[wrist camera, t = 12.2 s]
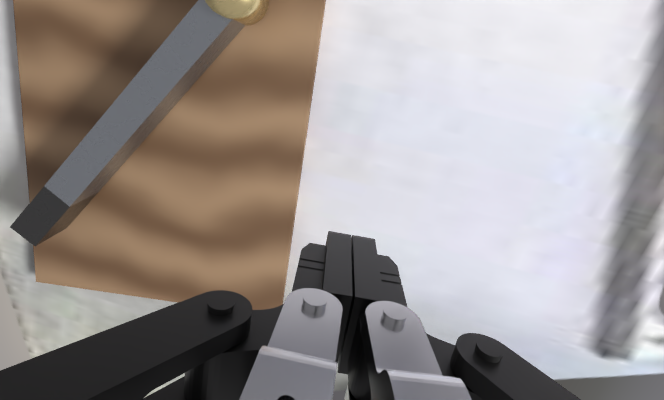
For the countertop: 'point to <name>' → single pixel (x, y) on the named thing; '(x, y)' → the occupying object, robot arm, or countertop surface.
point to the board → (172, 148)
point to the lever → (136, 113)
